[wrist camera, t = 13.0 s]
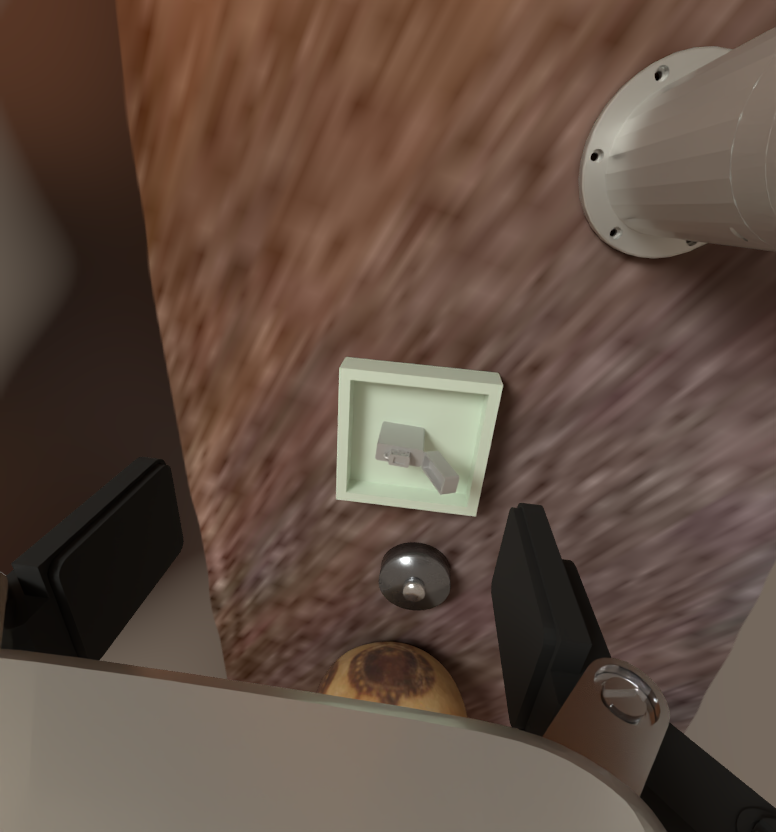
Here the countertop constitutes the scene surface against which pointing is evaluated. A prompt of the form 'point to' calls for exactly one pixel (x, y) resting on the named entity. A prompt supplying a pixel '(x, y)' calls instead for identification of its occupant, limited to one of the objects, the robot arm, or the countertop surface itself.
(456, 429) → the tray
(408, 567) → the pot lid
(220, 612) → the countertop surface
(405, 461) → the lighter
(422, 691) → the clay pot
